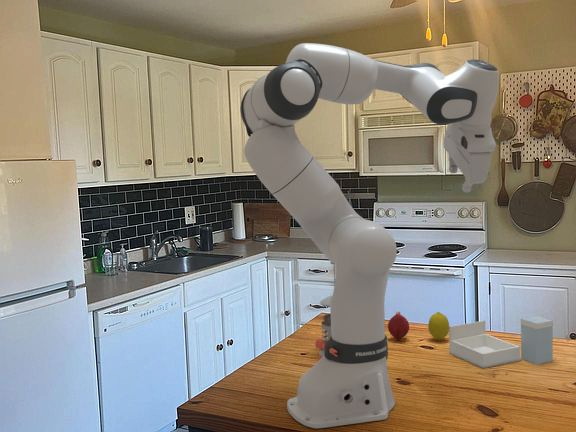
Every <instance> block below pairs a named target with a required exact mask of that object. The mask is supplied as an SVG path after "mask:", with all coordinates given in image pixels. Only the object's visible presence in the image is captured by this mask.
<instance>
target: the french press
mask: <svg viewBox="0 0 576 432" xmlns="http://www.w3.org/2000/svg"><path fill="white" fill-rule="evenodd" d="M330 265H333V277H334V279H333V281H334V284H335V279H336V265H335V264H334V263H333V262H331V261H330ZM331 297H332V295H331V296H327V297H325V298H322V300H320V302H319V304H320V305H321V306H323V307H326V308H330V300H331ZM322 320H323V321H321V329H323V330H321V333H322V334H321V339H322V340H323V341H325V342H326V343H327V342H328V340H329V338H330V336H331V313H328V314H324V315H323V316H322ZM318 354H319V355H320V357H321V358H322V357H323V356H324V350H319V352H318Z"/></svg>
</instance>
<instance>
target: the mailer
mask: <svg viewBox="0 0 576 432" xmlns="http://www.w3.org/2000/svg"><path fill="white" fill-rule="evenodd" d="M486 329H487V327H486V320H479V321H474V322H468V323H462V324H457V325H451V326H450V325H449V332H448V339H449V354H450V355H452V356H454V357H457V358H459V359H461V360H463V361H465V362H468V363H470V364H472V365H474V366H476V367H478V368H481V369H483V370H484V369H488V368H493V367H498V366H503V365H507V364H510V363H511V364H512V363H515V362H519V361H521V346H519V345H516V344H513V343H512V342H510V341H509V342H508V341H506V340H504V339H500V338H497V337H495V336H492V335H490V334H488V333H486Z"/></svg>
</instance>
